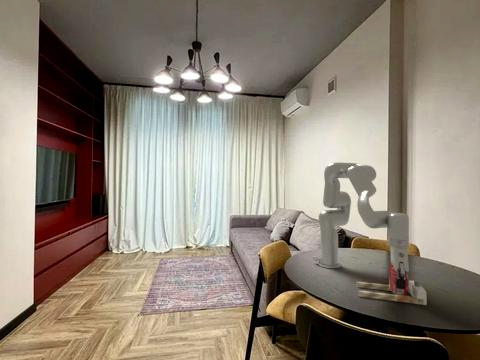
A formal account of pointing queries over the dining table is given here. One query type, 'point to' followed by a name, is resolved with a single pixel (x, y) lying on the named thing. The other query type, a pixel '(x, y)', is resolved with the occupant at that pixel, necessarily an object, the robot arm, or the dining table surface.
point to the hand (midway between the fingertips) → (398, 284)
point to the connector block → (417, 290)
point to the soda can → (393, 281)
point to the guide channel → (385, 296)
